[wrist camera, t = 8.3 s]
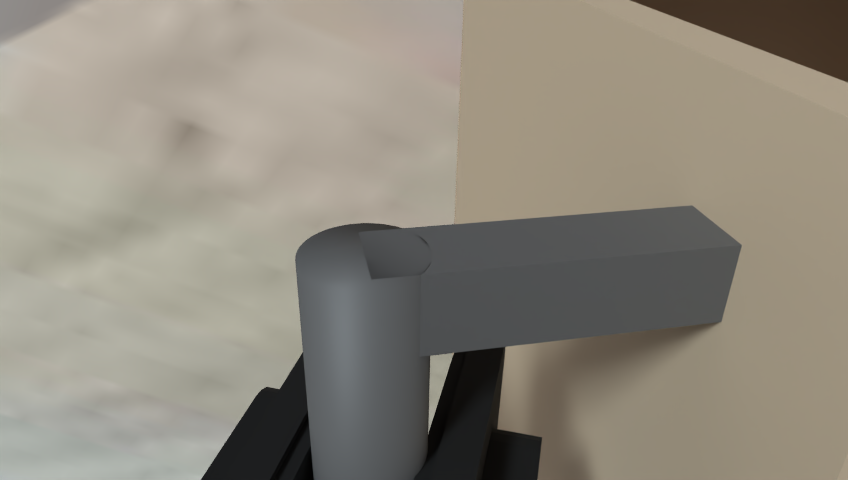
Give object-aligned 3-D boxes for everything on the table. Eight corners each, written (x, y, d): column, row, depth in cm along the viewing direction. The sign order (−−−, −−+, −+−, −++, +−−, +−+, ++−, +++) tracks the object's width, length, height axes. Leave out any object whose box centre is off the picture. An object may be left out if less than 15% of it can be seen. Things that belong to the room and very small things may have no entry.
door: (1058, 161, 5) (293, 219, 4) (708, 883, 11) (355, 981, 10) (497, -50, 17) (269, -49, 16) (472, 343, 23) (303, 362, 22)
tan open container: (969, -59, 22) (1137, -25, 15) (850, 271, 27) (930, 407, 20) (519, -75, 24) (484, -52, 17) (496, 229, 30) (463, 336, 23)
